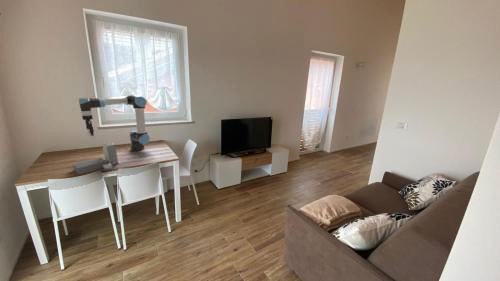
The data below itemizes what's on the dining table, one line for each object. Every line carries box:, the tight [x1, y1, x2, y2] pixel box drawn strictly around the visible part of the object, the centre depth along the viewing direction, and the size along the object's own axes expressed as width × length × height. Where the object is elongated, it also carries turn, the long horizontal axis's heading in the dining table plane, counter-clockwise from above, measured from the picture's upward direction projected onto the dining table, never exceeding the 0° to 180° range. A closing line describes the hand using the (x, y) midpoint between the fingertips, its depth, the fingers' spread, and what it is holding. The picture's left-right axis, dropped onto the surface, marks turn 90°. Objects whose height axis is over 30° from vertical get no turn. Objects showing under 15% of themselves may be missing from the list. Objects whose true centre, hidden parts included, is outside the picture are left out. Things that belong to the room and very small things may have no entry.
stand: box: [71, 157, 106, 175], centre depth 196 cm, size 22×14×6 cm, turn 146°
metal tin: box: [102, 163, 113, 172], centre depth 195 cm, size 7×7×5 cm
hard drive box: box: [101, 141, 119, 166], centre depth 208 cm, size 16×8×20 cm, turn 48°
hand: (91, 137), depth 197 cm, fingers open, 13 cm apart
